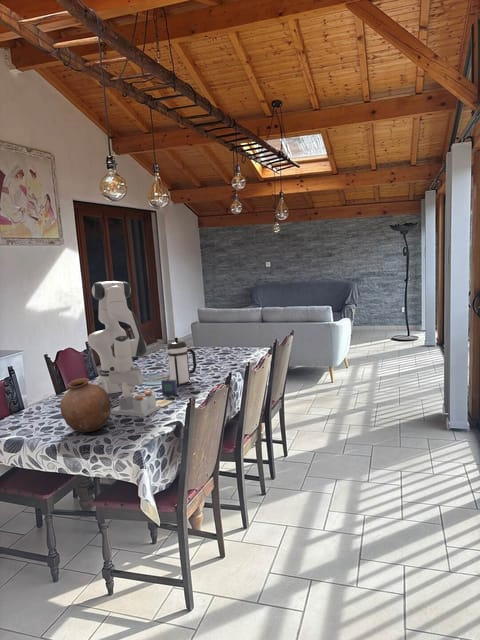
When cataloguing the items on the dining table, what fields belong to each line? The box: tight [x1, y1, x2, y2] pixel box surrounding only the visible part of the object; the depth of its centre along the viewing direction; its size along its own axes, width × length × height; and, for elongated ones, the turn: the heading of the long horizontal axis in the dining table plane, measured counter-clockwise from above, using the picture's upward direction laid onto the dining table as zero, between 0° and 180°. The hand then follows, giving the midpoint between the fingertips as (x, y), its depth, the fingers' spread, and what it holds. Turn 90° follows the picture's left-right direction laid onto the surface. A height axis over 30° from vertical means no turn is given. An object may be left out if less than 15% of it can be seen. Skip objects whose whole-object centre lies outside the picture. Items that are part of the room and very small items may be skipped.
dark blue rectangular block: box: [160, 376, 178, 396], centre depth 278 cm, size 9×3×11 cm, turn 78°
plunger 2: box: [143, 389, 153, 396], centre depth 253 cm, size 4×4×7 cm
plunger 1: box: [135, 394, 145, 401], centre depth 246 cm, size 4×4×7 cm
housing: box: [110, 392, 161, 418], centre depth 253 cm, size 22×14×8 cm, turn 65°
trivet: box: [156, 399, 174, 409], centre depth 262 cm, size 10×10×1 cm
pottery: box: [59, 377, 112, 433], centre depth 228 cm, size 23×23×25 cm
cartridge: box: [122, 382, 133, 398], centre depth 254 cm, size 5×5×15 cm
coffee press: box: [165, 336, 197, 388], centre depth 300 cm, size 17×16×30 cm
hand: (127, 392), depth 254 cm, fingers closed on cartridge, 5 cm apart
